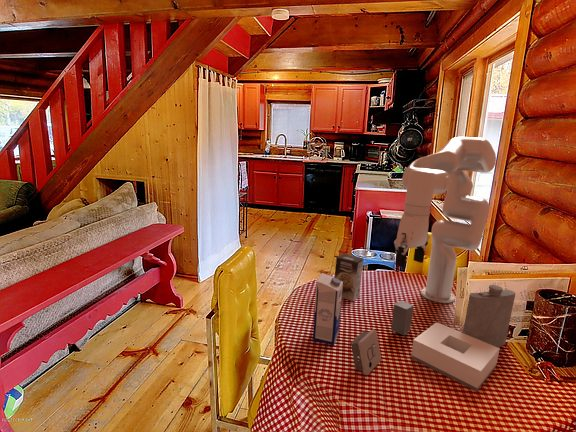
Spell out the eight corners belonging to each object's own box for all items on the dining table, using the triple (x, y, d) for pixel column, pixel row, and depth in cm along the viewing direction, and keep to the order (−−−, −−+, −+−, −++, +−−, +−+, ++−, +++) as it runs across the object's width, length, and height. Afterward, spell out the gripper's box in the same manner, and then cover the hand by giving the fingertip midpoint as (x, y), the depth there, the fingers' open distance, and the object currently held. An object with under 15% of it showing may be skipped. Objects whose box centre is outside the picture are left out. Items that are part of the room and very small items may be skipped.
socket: (433, 339, 113) (436, 322, 111) (495, 367, 100) (499, 348, 99) (410, 358, 103) (413, 339, 101) (476, 391, 90) (480, 371, 89)
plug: (397, 327, 119) (401, 300, 116) (409, 333, 116) (413, 305, 113) (390, 332, 116) (394, 304, 113) (403, 338, 113) (406, 309, 110)
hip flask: (499, 339, 115) (510, 281, 110) (509, 346, 111) (522, 287, 106) (458, 345, 110) (468, 285, 106) (467, 352, 106) (479, 291, 102)
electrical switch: (366, 377, 94) (366, 345, 92) (349, 370, 97) (349, 339, 95) (381, 361, 101) (381, 330, 99) (364, 355, 104) (365, 325, 102)
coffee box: (332, 295, 140) (335, 257, 137) (339, 289, 146) (342, 252, 142) (354, 301, 136) (357, 262, 132) (360, 295, 141) (363, 257, 137)
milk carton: (318, 329, 116) (322, 272, 111) (338, 333, 113) (343, 275, 109) (312, 340, 109) (316, 280, 104) (333, 345, 107) (338, 284, 102)
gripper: (421, 206, 116) (414, 256, 120) (389, 209, 106) (382, 264, 109) (443, 211, 110) (435, 263, 114) (411, 214, 100) (402, 272, 103)
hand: (409, 263), depth 111 cm, fingers open, 9 cm apart
